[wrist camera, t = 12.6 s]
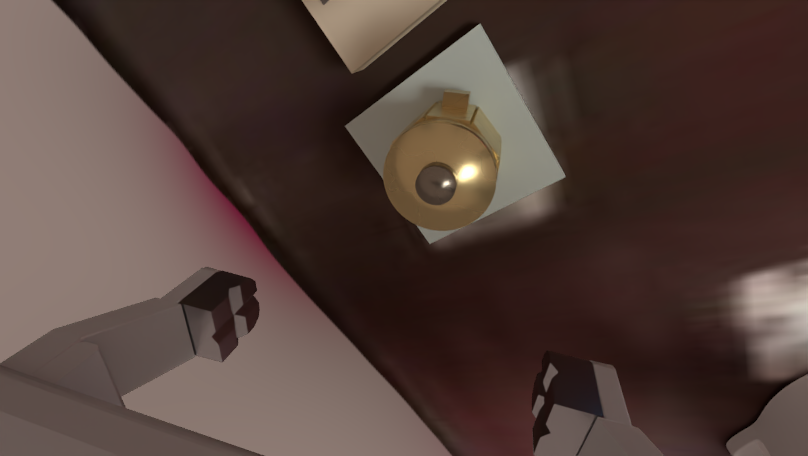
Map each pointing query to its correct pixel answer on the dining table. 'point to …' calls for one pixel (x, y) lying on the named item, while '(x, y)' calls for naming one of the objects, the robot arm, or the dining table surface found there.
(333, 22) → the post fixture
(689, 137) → the dining table surface
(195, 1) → the dining table surface
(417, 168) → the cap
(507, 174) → the coaster
